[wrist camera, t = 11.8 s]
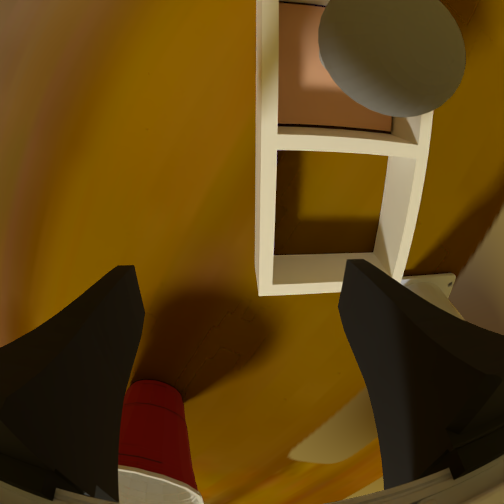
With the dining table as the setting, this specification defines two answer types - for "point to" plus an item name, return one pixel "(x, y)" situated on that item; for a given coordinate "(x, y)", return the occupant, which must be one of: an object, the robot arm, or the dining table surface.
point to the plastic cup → (155, 447)
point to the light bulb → (392, 53)
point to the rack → (324, 149)
